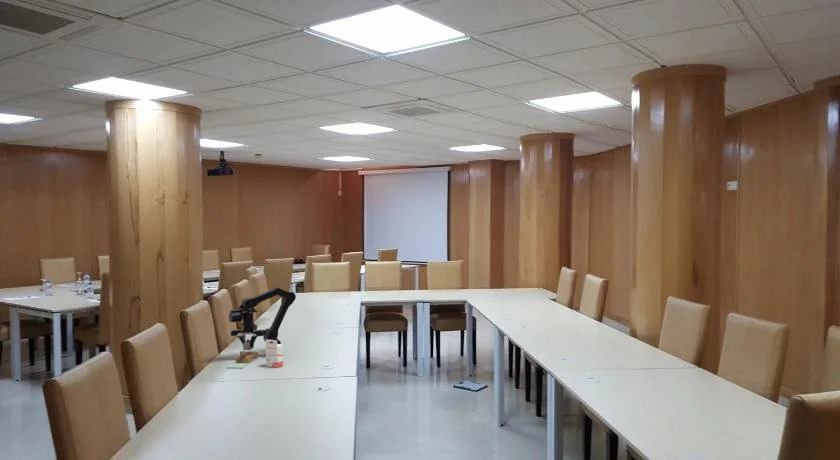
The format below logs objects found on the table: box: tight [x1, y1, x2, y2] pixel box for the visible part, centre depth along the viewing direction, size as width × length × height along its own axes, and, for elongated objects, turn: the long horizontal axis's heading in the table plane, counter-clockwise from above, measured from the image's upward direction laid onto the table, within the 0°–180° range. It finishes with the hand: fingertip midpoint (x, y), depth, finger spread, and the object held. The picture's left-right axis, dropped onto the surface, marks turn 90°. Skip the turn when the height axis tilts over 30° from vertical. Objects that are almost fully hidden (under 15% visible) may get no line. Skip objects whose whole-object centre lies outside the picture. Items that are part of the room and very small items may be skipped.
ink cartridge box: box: [265, 339, 284, 369], centre depth 310 cm, size 9×5×15 cm, turn 62°
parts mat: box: [225, 362, 250, 370], centre depth 310 cm, size 9×9×1 cm
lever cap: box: [242, 338, 255, 351], centre depth 326 cm, size 4×6×5 cm, turn 175°
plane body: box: [235, 350, 260, 364], centre depth 324 cm, size 7×16×6 cm, turn 175°
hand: (248, 347), depth 326 cm, fingers closed on lever cap, 4 cm apart
